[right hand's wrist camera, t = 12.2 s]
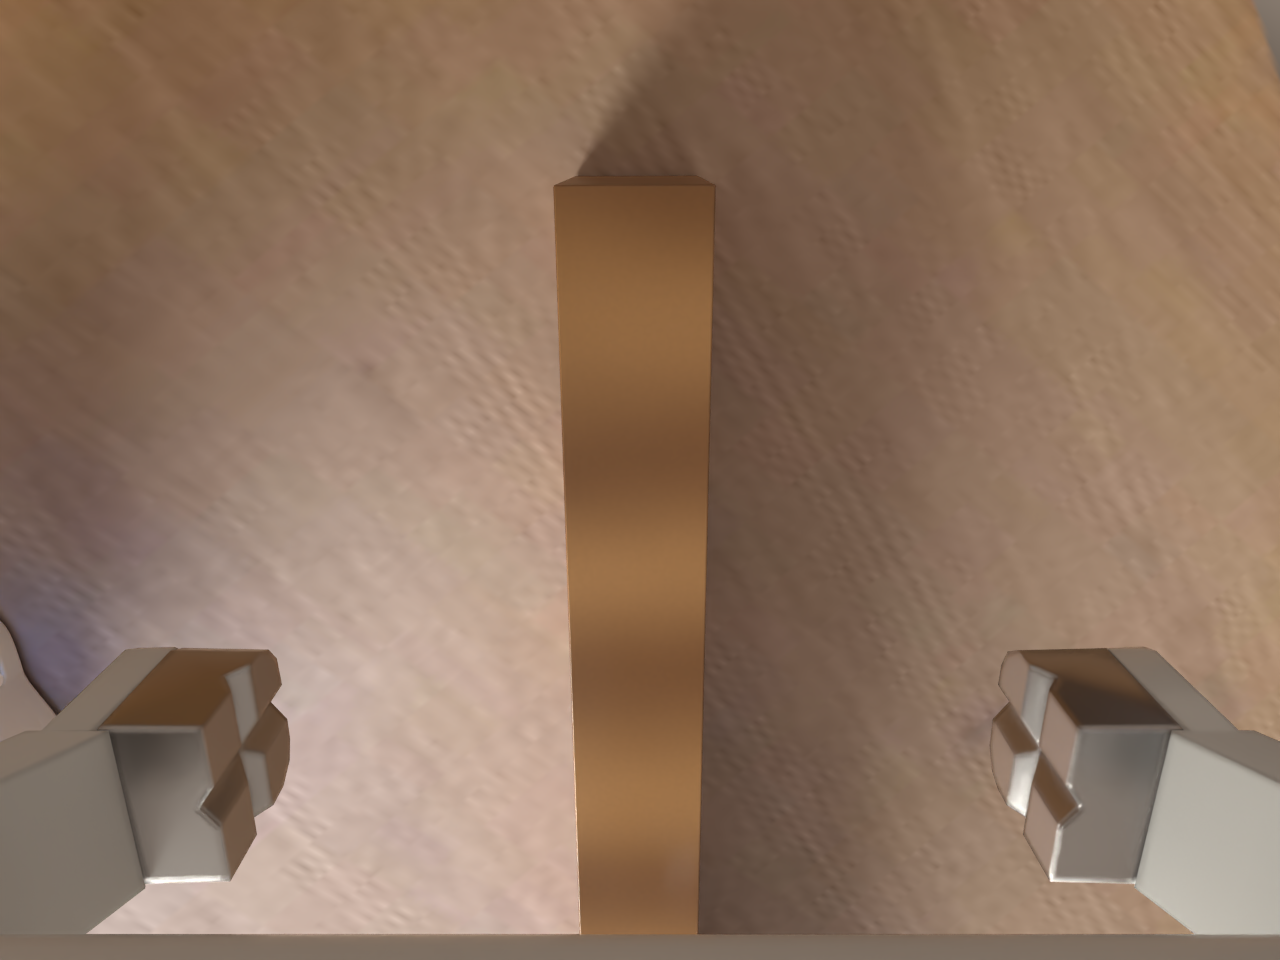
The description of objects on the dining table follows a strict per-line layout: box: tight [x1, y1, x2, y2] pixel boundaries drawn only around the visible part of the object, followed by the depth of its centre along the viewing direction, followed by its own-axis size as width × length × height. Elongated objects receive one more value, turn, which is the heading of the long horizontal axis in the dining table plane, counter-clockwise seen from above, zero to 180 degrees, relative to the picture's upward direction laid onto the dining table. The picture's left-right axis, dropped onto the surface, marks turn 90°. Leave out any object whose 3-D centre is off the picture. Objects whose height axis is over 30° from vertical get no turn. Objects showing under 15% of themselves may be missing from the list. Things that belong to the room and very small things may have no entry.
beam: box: [554, 176, 716, 934], centre depth 40 cm, size 53×5×9 cm, turn 0°
